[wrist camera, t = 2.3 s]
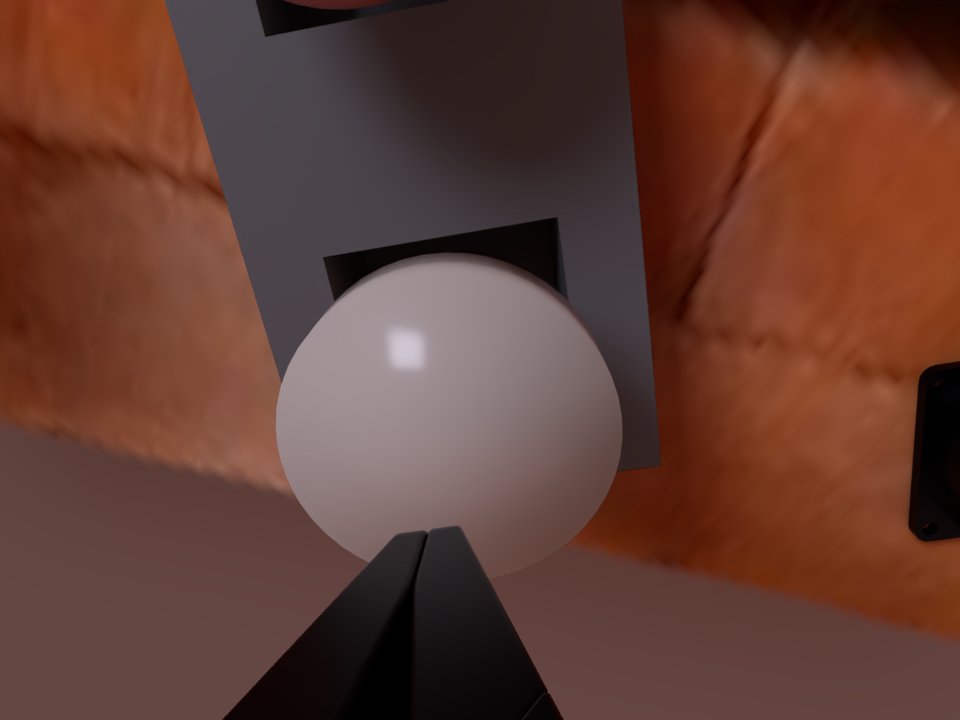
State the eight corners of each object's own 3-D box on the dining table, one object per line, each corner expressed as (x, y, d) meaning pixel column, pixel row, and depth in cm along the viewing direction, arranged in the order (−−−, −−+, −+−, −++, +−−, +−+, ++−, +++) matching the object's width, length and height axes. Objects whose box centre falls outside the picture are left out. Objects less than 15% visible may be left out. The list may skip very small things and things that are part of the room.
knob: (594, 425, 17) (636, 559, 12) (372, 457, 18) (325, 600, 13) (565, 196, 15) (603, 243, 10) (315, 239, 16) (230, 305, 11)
